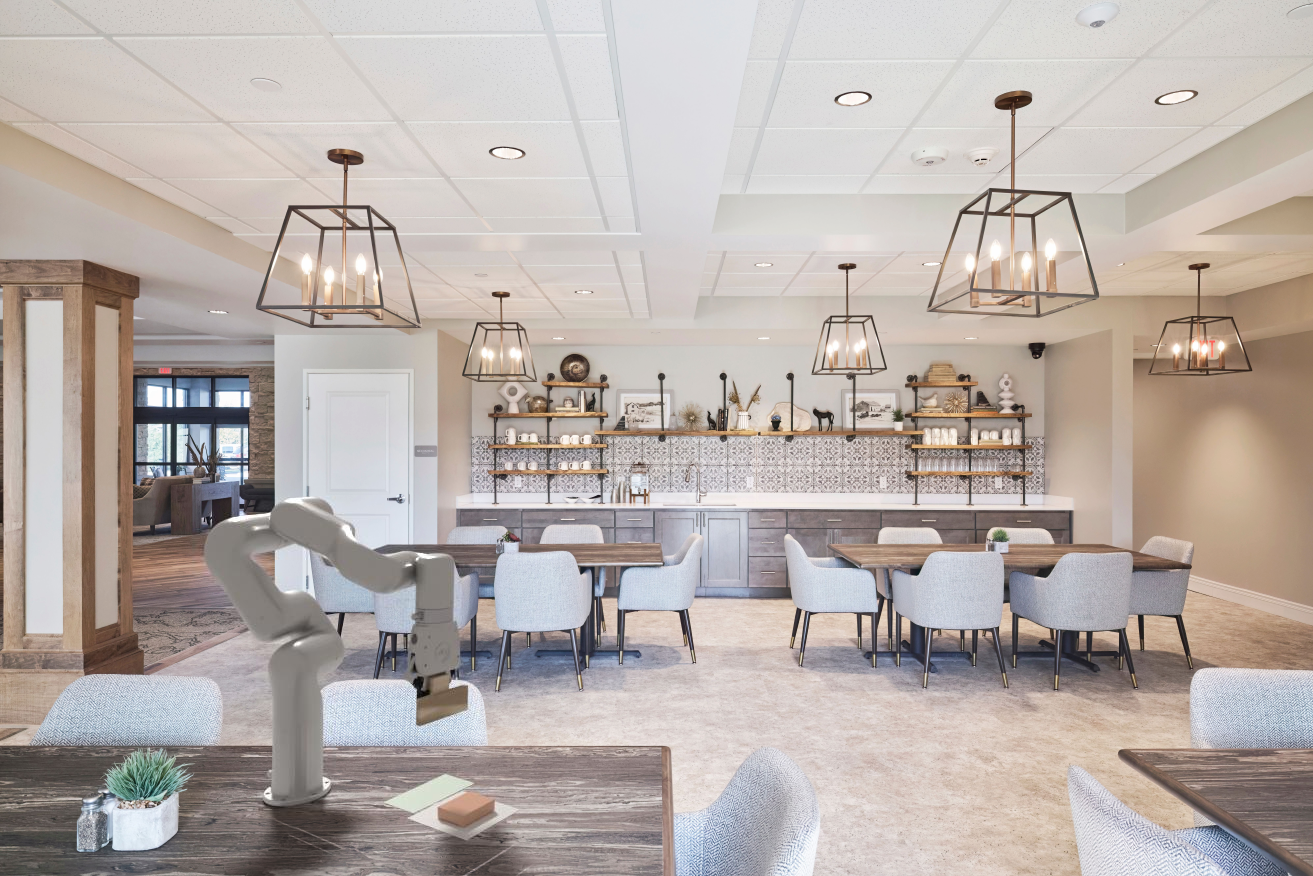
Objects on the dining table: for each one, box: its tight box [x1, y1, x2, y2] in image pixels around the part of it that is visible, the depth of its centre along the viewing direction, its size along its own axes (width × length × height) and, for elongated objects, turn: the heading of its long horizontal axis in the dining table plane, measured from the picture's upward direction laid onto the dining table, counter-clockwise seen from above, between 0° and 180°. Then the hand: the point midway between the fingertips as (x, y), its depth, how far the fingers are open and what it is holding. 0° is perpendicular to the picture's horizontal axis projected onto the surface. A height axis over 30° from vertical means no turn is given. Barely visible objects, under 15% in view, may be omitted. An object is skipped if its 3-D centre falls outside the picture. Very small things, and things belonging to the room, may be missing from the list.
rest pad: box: [383, 773, 475, 815], centre depth 154 cm, size 9×16×1 cm, turn 148°
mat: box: [406, 790, 521, 841], centre depth 145 cm, size 16×14×1 cm
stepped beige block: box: [415, 672, 469, 727], centre depth 152 cm, size 6×12×8 cm, turn 146°
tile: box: [438, 791, 496, 827], centre depth 145 cm, size 2×8×7 cm
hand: (432, 705), depth 153 cm, fingers closed on stepped beige block, 4 cm apart
